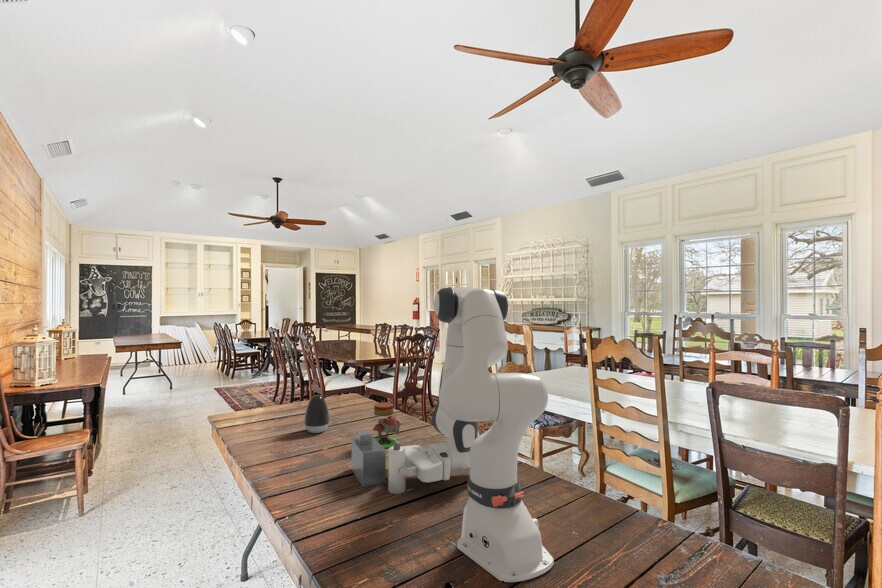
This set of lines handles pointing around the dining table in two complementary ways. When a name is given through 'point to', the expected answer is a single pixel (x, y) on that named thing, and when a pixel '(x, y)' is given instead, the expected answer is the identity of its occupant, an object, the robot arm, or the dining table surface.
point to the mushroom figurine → (386, 424)
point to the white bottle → (396, 468)
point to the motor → (368, 459)
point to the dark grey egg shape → (317, 415)
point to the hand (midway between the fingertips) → (394, 466)
